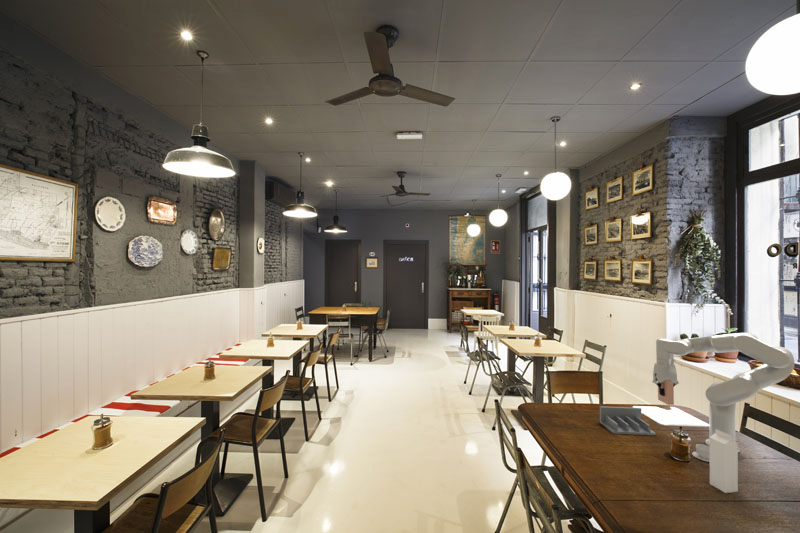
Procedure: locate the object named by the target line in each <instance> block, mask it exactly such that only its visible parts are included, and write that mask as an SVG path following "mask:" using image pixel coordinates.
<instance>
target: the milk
mask: <svg viewBox="0 0 800 533" xmlns="http://www.w3.org/2000/svg"><path fill="white" fill-rule="evenodd" d="M738 445H739V444H738V442H736V440H735V441H733V440H731V435H729V434H726V433H724V432H722V431H719V430H717V429H716V430H715V433H714V434H713V435H712V436H711V437H710V462H709V485H711V486H712V487H714V488H716V489H718V490H719V491H721V492H723V493H724V494H728V493H738V492H739V489H738V488H739V483H738V482H739V477H738V476H739V468H738V466H739V465H738V463H739V462H738V461H739V460H738V458H739V457H738V456H739V454H738V453H739V452H738V447H739V446H738Z"/></svg>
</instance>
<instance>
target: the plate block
mask: <svg viewBox="0 0 800 533" xmlns="http://www.w3.org/2000/svg"><path fill="white" fill-rule="evenodd" d="M663 388H664V389H665V396H662V395H660V393H659V387H658V386H657V399H658V401H660V402H663V404H665V405H668V406H674V404H675V398H674V395H675V394H674V393H675V392H674V387H673V382H671V381H665V383H664V387H663Z"/></svg>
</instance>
